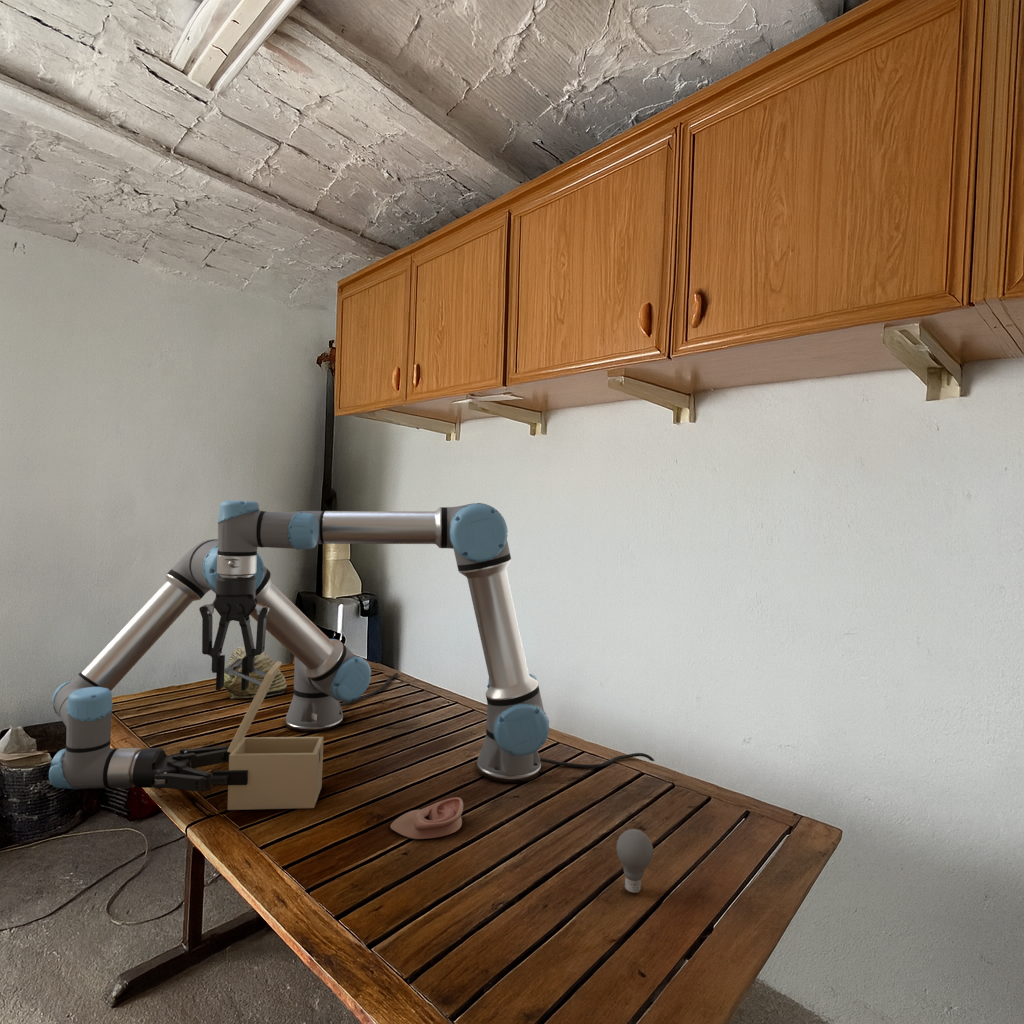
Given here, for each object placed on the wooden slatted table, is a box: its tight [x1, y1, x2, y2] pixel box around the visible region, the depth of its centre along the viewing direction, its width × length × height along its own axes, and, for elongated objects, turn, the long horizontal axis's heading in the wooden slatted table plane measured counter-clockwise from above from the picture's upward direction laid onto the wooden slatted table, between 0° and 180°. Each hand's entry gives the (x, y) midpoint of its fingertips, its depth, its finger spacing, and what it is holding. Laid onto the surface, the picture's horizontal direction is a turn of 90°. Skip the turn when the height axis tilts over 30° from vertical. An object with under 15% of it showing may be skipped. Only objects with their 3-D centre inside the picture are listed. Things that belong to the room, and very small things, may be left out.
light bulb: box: [615, 828, 654, 894], centre depth 106 cm, size 6×6×10 cm
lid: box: [224, 658, 283, 753], centre depth 131 cm, size 17×10×9 cm
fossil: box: [223, 646, 288, 699], centre depth 198 cm, size 9×18×15 cm, turn 132°
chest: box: [226, 736, 325, 811], centre depth 132 cm, size 17×10×11 cm, turn 98°
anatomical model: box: [390, 797, 464, 840], centre depth 124 cm, size 13×4×12 cm
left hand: (254, 766), depth 132 cm, fingers closed on chest, 9 cm apart
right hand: (232, 687), depth 131 cm, fingers open, 4 cm apart
